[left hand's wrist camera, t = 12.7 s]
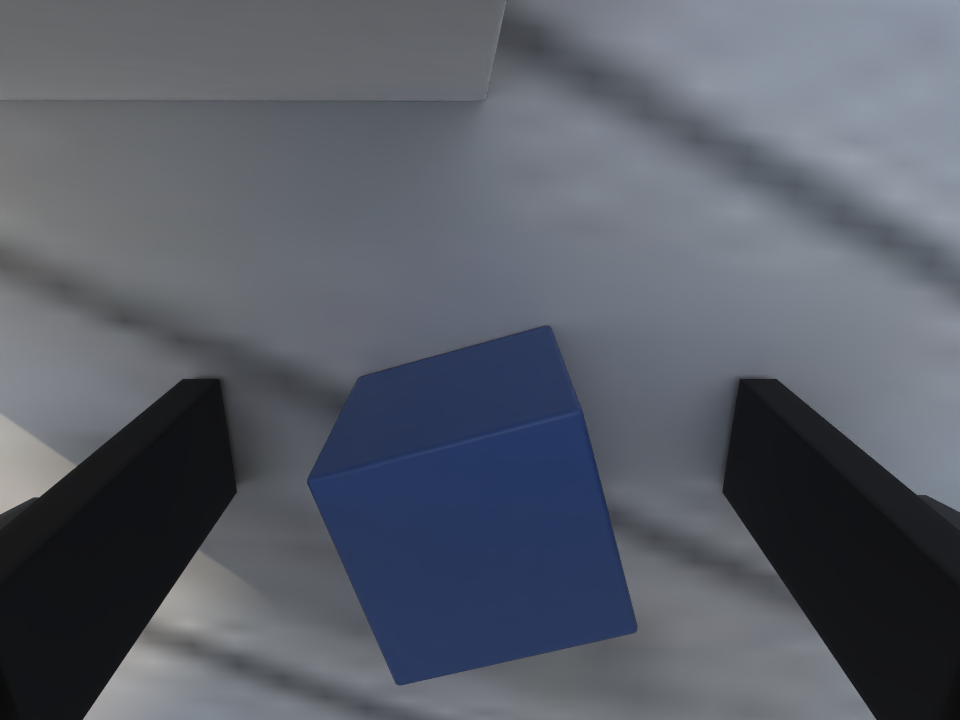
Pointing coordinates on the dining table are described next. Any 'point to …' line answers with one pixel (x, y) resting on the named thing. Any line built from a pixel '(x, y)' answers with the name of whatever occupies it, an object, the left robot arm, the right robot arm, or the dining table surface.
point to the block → (472, 510)
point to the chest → (248, 49)
